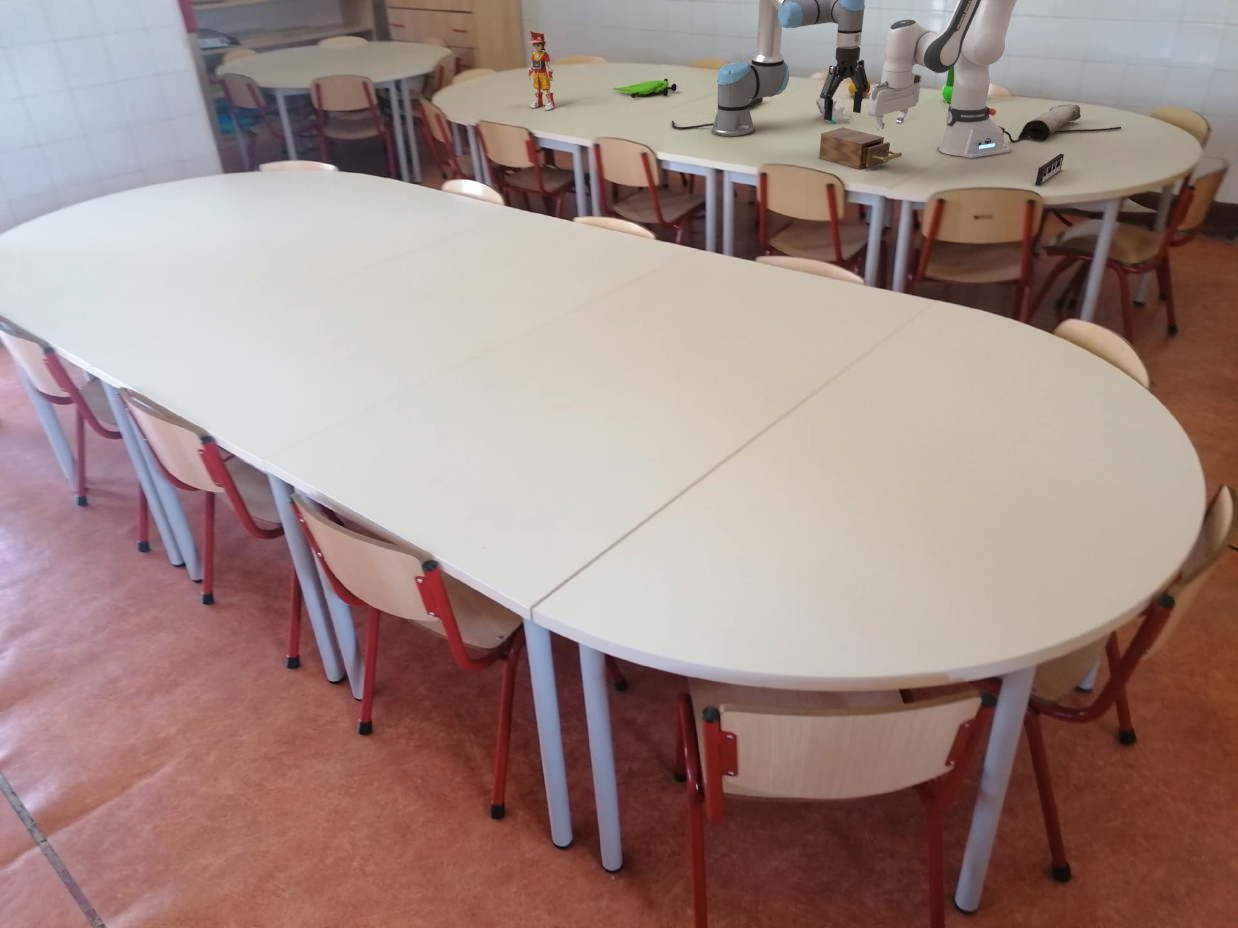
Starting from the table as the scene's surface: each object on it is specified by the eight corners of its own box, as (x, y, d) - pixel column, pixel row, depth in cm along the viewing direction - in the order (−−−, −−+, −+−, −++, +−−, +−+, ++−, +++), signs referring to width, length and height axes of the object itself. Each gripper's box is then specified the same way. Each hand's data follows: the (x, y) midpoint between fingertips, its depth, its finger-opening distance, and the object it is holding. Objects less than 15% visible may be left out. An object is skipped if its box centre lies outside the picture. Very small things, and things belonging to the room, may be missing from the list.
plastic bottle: (973, 101, 354) (984, 32, 339) (955, 106, 349) (966, 36, 335) (952, 97, 361) (962, 29, 346) (934, 102, 356) (944, 33, 342)
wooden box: (881, 162, 296) (884, 137, 292) (859, 169, 291) (861, 144, 287) (840, 151, 308) (843, 127, 304) (819, 158, 304) (821, 133, 299)
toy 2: (686, 85, 398) (631, 84, 414) (685, 72, 395) (629, 72, 411) (651, 104, 381) (596, 103, 397) (650, 92, 378) (594, 91, 394)
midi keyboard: (1039, 185, 269) (1043, 168, 266) (1035, 184, 270) (1038, 168, 267) (1060, 170, 279) (1064, 154, 277) (1056, 169, 280) (1060, 153, 277)
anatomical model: (811, 92, 345) (837, 85, 344) (814, 119, 351) (839, 112, 350) (821, 101, 332) (848, 94, 332) (824, 129, 338) (850, 122, 337)
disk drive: (747, 111, 360) (763, 102, 370) (747, 104, 359) (763, 95, 369) (724, 109, 365) (740, 100, 375) (724, 101, 363) (740, 93, 373)
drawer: (902, 165, 289) (904, 146, 286) (882, 172, 285) (885, 152, 281) (849, 151, 304) (851, 133, 301) (830, 157, 300) (832, 138, 297)
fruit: (843, 89, 366) (855, 71, 363) (846, 93, 374) (858, 75, 371) (860, 101, 365) (872, 82, 362) (862, 104, 373) (874, 86, 369)
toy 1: (525, 109, 381) (517, 32, 364) (534, 104, 388) (527, 28, 371) (550, 110, 377) (543, 32, 360) (559, 105, 384) (553, 28, 367)
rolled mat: (1047, 109, 327) (1072, 92, 319) (1061, 130, 327) (1086, 113, 319) (1014, 132, 309) (1039, 114, 301) (1028, 154, 310) (1054, 137, 302)
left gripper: (829, 54, 276) (824, 125, 288) (884, 42, 287) (876, 111, 299) (811, 51, 281) (807, 121, 293) (866, 39, 292) (859, 107, 304)
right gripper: (881, 86, 267) (875, 134, 275) (925, 75, 277) (918, 122, 284) (865, 83, 271) (860, 130, 279) (909, 72, 281) (902, 118, 289)
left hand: (842, 116), depth 296 cm, fingers open, 13 cm apart
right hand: (890, 126), depth 282 cm, fingers open, 8 cm apart
